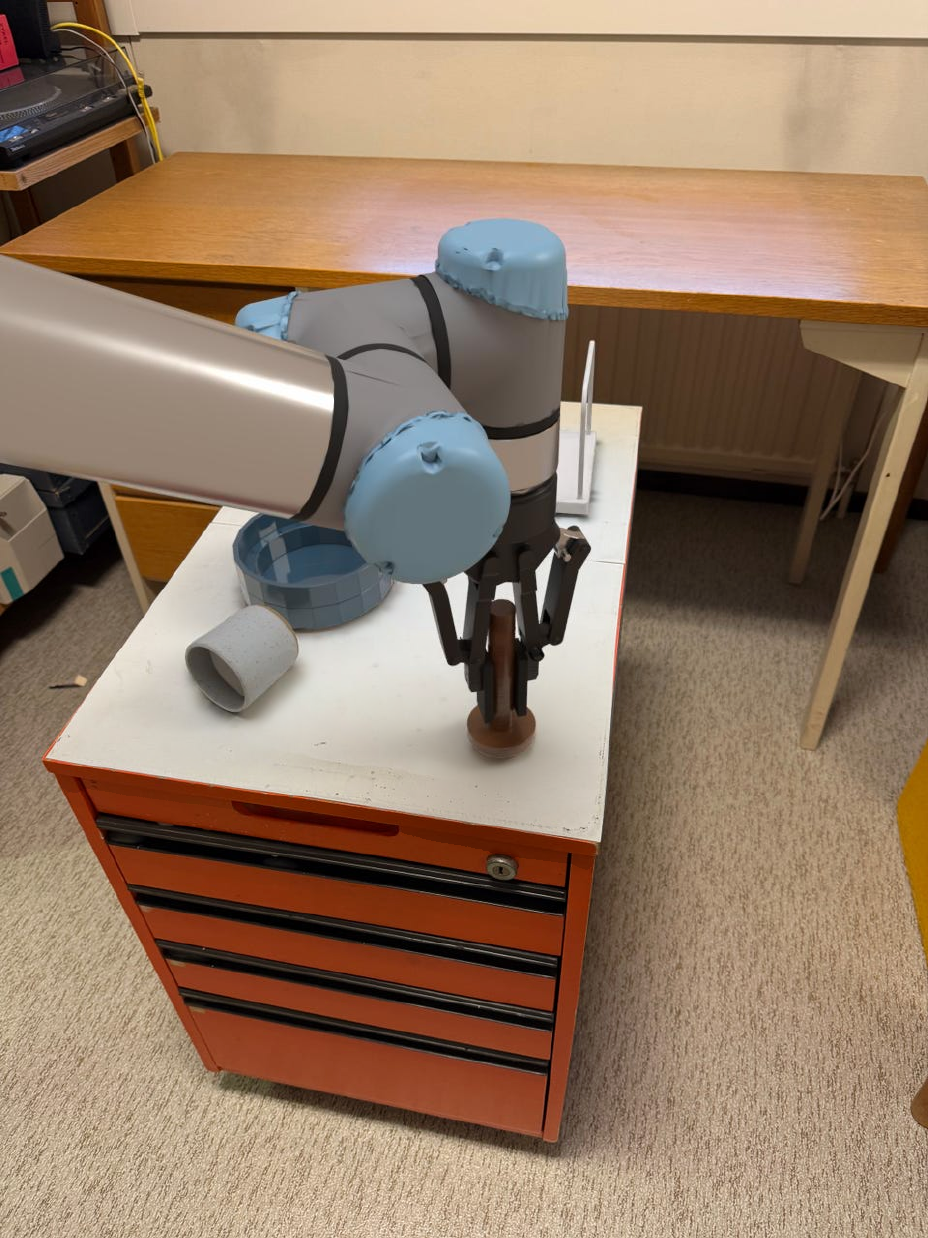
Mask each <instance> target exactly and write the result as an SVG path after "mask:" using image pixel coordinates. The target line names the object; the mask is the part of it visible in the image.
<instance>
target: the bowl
mask: <svg viewBox="0 0 928 1238" xmlns="http://www.w3.org/2000/svg"><path fill="white" fill-rule="evenodd" d="M231 547H232V556H233V557H232V558H233V563H234V566H235V571H236V574H237V578H238V582H239V586H240V589H241V593H242V597H243V601H244V602H245V603H246V604H247V607H248V606H251V605H256V604H258V605H264V606H266V607H269V608H271V609H273V610H275V611H276V612H278V613H279V614H280V615H281V616H282V617H283V618H284V619H285V620H286V621H287V622H288V623H289V625H290V626H291V628H292V629H312V630H313V629H315V630H316V629H322V628H327V627H332V626H338V625H341V624H344V623H347V622H349V621H352V620H354V619H356V618H359V617H361V616H364V615H365V614H367V613H368V612H369V611H371V610H372V609H373V608H375V607H376V606H377V605H379V604H380V603H381V602H382V601H383V600H384V598H385V597H386V596H387V594H388V593H389V591H390V590H391V588H392V586H393V582H394V580H391V579H389V578H387V577H386V576H385V575H383V574H381V573H379V572H378V571H376V570H375V569H373V568H372V567H371V566H370V565H369V564H368V563H367V562H366V560H365V559H364V558H363V557H362V556H361V554H360V553H358V552H357V551H356V550H355V549H354V548H353V546H352V544H351V541H350V540H349V539H347V536H346V534H345V531H341V530H336V529H331V528H325V527H320V526H315V525H310V524H306V523H303V522H299V521H295V520H290V519H286V518H282V517H277V516H271V515H266V514H261V513H257V514H255V515H254V516H252V517H250V519H248V521H247V522H245V523H244V525H243V526H241V528H240V529H239V530H237V534H236V536H235V538H234V540H233V543H232V545H231Z"/></svg>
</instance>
